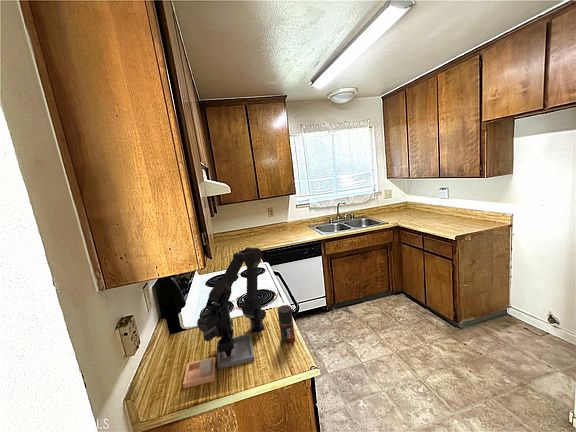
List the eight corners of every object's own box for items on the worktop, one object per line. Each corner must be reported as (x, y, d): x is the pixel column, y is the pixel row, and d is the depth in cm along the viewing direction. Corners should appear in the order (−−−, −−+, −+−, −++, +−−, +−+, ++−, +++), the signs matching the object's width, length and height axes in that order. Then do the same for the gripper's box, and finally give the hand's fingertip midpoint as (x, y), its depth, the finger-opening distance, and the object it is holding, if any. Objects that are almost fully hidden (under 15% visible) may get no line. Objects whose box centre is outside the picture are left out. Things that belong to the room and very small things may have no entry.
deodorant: (286, 346, 113) (282, 314, 111) (278, 340, 118) (274, 309, 116) (297, 340, 117) (294, 308, 114) (289, 334, 122) (286, 303, 119)
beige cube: (224, 351, 114) (222, 343, 113) (233, 349, 115) (232, 340, 114) (223, 357, 110) (222, 349, 109) (233, 355, 111) (232, 346, 110)
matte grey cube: (202, 369, 105) (200, 360, 104) (212, 367, 105) (211, 358, 105) (201, 377, 101) (199, 367, 100) (212, 374, 102) (210, 365, 101)
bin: (219, 345, 119) (218, 340, 119) (251, 338, 122) (250, 333, 122) (218, 370, 104) (217, 365, 104) (254, 361, 107) (253, 356, 106)
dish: (188, 368, 107) (187, 363, 106) (216, 362, 109) (215, 356, 109) (184, 389, 96) (182, 383, 96) (215, 381, 99) (214, 376, 98)
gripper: (204, 311, 117) (210, 343, 120) (200, 336, 99) (207, 373, 102) (230, 306, 119) (235, 337, 122) (230, 329, 101) (236, 366, 104)
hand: (228, 352), depth 112 cm, fingers open, 4 cm apart
